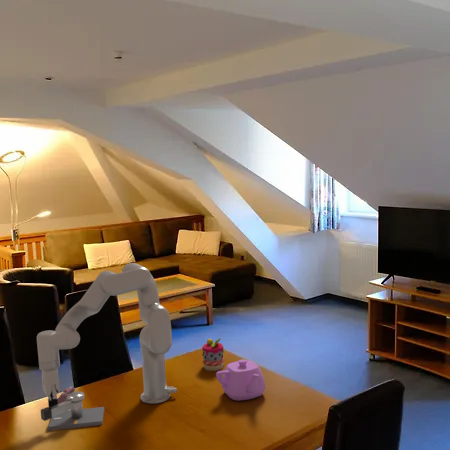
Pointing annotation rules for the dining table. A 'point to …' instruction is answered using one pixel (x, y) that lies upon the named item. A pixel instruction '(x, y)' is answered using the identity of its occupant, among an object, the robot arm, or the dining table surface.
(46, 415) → the lever
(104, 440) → the dining table surface
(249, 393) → the teapot
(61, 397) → the video game controller
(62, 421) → the base plate
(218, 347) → the cake
